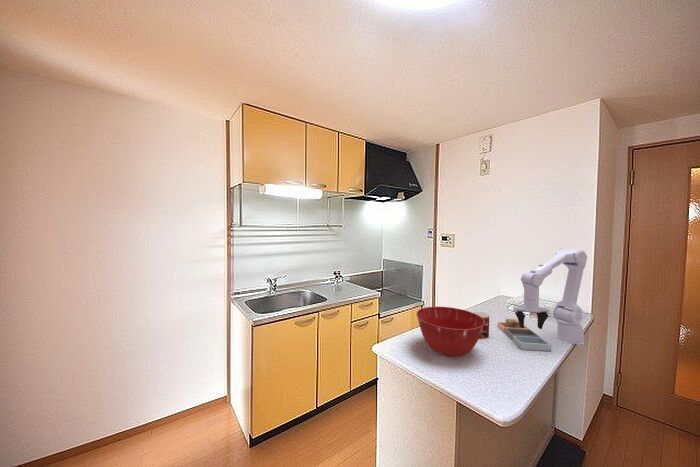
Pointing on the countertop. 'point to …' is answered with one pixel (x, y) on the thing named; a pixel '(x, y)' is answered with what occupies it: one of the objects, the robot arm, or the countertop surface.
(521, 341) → the dish blue
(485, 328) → the canned food
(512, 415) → the countertop surface
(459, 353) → the mixing bowl
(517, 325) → the letter cube
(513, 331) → the dish charcoal
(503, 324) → the dish terracotta
